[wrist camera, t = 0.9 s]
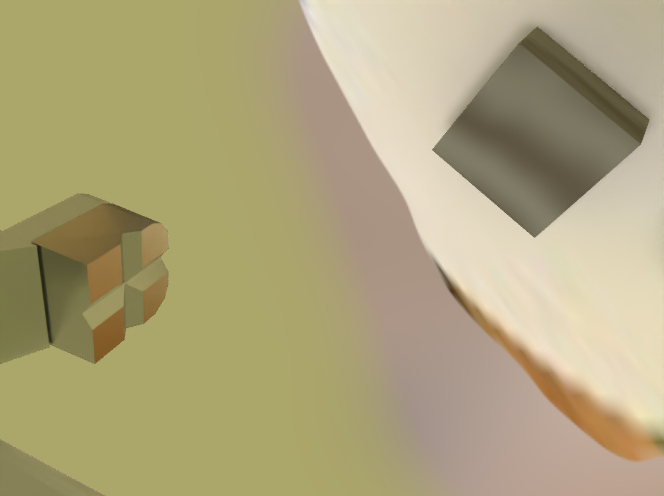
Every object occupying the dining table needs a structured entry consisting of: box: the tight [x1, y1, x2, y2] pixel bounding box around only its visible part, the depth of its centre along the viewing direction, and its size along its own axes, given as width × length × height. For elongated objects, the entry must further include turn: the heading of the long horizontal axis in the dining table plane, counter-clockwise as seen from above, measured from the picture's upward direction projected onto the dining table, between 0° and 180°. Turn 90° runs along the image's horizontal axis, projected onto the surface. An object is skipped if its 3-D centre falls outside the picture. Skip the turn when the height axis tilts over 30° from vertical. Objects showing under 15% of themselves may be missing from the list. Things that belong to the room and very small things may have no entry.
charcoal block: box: [432, 27, 649, 238], centre depth 46 cm, size 10×10×5 cm
